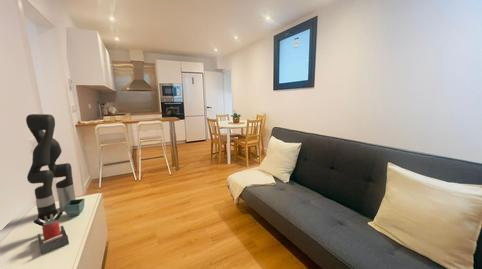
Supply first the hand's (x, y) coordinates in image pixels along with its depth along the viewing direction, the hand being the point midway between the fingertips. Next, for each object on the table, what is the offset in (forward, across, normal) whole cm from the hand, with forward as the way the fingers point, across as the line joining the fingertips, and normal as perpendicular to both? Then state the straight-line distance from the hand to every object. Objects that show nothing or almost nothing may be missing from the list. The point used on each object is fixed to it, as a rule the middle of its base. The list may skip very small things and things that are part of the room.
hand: (50, 230), depth 118 cm
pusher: (+1, 0, +17) cm, 17 cm away
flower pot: (+1, -14, -12) cm, 18 cm away
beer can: (+1, 0, +13) cm, 13 cm away
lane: (+1, 0, +14) cm, 14 cm away
